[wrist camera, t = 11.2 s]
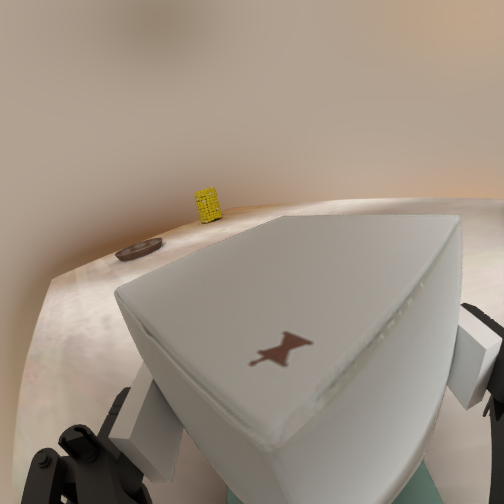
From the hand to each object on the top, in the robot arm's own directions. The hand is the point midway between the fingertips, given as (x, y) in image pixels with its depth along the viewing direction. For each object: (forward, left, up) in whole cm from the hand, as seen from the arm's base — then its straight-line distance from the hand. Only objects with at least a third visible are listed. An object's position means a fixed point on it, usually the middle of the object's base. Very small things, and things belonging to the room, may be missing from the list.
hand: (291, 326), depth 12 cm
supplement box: (0, +4, -8) cm, 9 cm away
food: (+20, -108, -9) cm, 110 cm away
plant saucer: (+42, -77, -10) cm, 88 cm away
